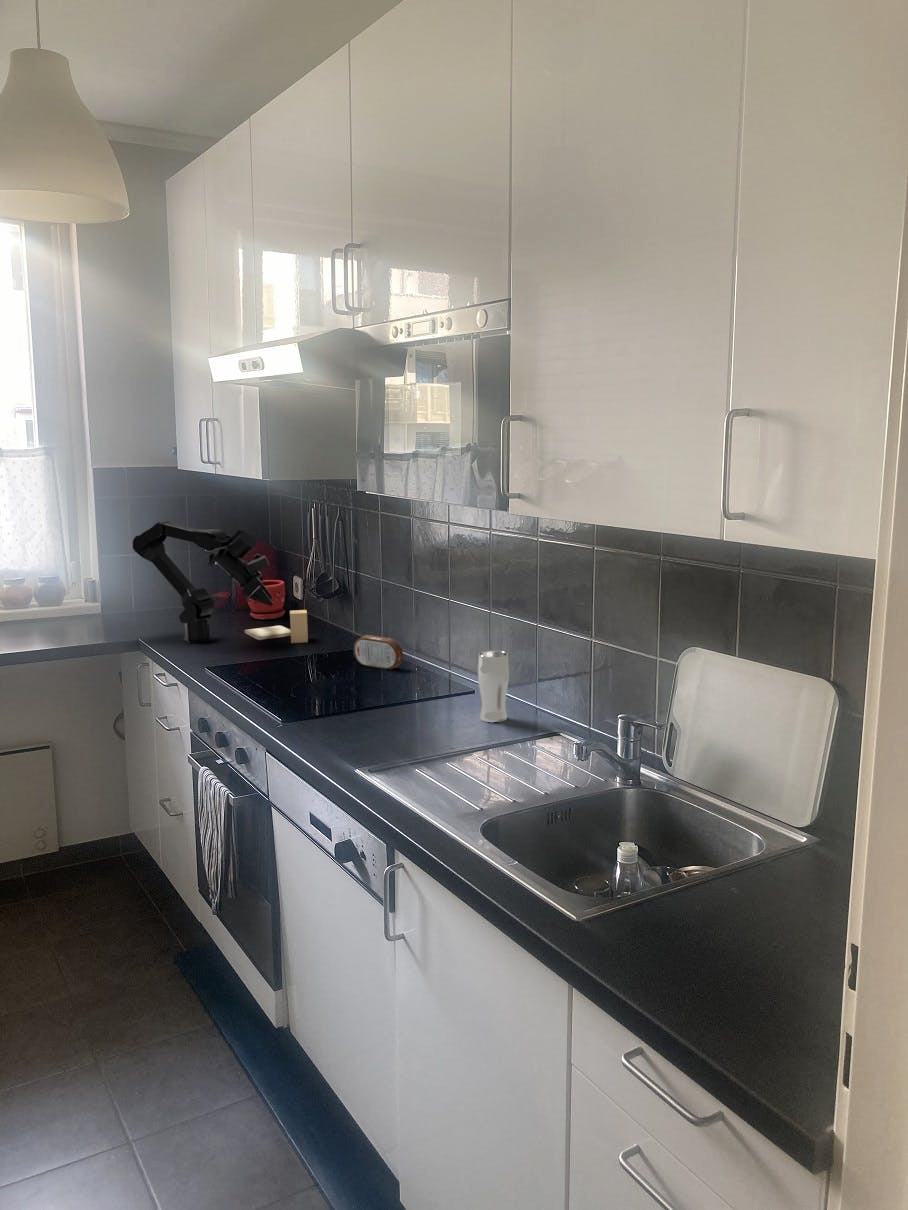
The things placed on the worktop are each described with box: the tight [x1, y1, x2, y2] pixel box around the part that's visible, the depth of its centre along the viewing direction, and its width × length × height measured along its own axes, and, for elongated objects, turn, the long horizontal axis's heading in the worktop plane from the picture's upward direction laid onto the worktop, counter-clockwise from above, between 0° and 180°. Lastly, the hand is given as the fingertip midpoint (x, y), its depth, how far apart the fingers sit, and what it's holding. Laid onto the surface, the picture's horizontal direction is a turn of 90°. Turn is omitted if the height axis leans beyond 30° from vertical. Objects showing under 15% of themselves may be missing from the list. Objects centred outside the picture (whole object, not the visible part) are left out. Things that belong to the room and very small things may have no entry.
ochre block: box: [289, 609, 309, 644], centre depth 301 cm, size 5×5×9 cm
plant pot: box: [246, 579, 286, 621], centre depth 336 cm, size 13×13×12 cm
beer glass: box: [477, 649, 510, 724], centre depth 221 cm, size 7×7×15 cm
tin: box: [353, 634, 404, 670], centre depth 268 cm, size 15×3×8 cm, turn 58°
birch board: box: [244, 625, 291, 641], centre depth 311 cm, size 12×12×1 cm
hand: (271, 601), depth 299 cm, fingers open, 9 cm apart
